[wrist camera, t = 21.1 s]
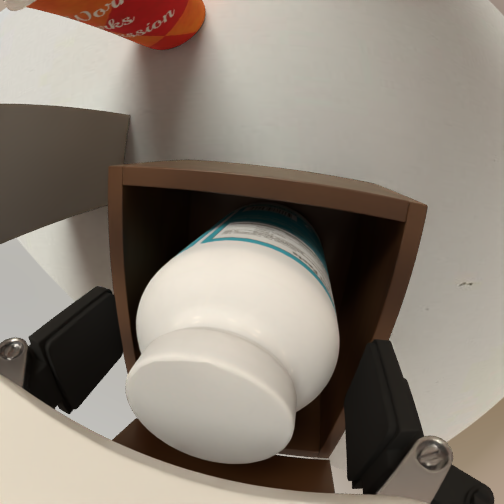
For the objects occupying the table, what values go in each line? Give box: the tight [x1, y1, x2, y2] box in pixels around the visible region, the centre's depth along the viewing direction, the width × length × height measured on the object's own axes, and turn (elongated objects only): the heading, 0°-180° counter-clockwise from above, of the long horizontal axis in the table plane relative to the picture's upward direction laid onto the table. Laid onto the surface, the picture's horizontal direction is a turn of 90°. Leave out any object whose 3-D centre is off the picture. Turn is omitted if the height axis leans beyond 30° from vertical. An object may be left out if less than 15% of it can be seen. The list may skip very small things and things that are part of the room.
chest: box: [108, 160, 428, 458], centre depth 16 cm, size 16×13×9 cm
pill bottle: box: [125, 202, 339, 464], centre depth 13 cm, size 8×7×14 cm
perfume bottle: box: [0, 104, 130, 244], centre depth 11 cm, size 7×7×18 cm
